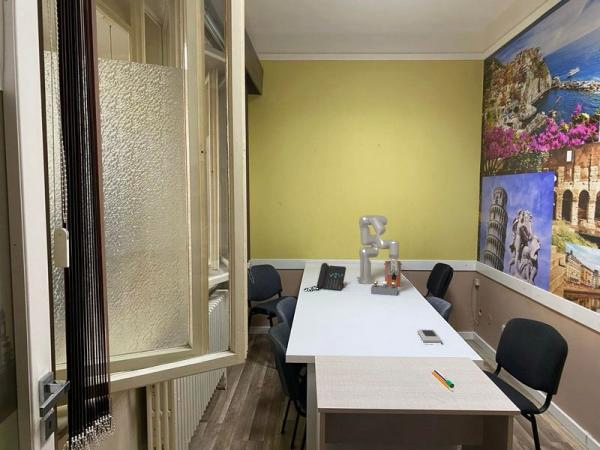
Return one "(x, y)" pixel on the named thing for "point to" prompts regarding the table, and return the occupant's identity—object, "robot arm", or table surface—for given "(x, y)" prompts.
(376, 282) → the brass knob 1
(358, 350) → the table surface
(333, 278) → the office phone
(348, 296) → the table surface
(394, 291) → the mount
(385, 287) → the grey knob middle
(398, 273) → the control panel
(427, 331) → the keypad
